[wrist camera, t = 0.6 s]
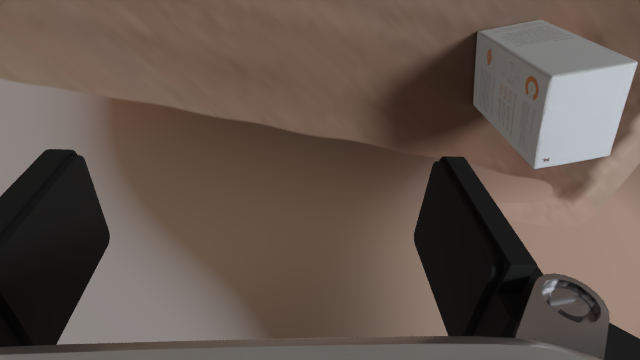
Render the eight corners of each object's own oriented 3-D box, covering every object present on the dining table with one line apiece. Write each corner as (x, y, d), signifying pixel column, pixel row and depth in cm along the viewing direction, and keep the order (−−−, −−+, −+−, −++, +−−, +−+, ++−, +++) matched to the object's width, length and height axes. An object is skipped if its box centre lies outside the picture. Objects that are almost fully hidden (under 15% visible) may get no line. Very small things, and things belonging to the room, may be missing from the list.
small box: (530, 94, 42) (611, 158, 32) (471, 105, 43) (532, 171, 32) (541, 16, 38) (641, 60, 27) (476, 29, 38) (549, 77, 27)
